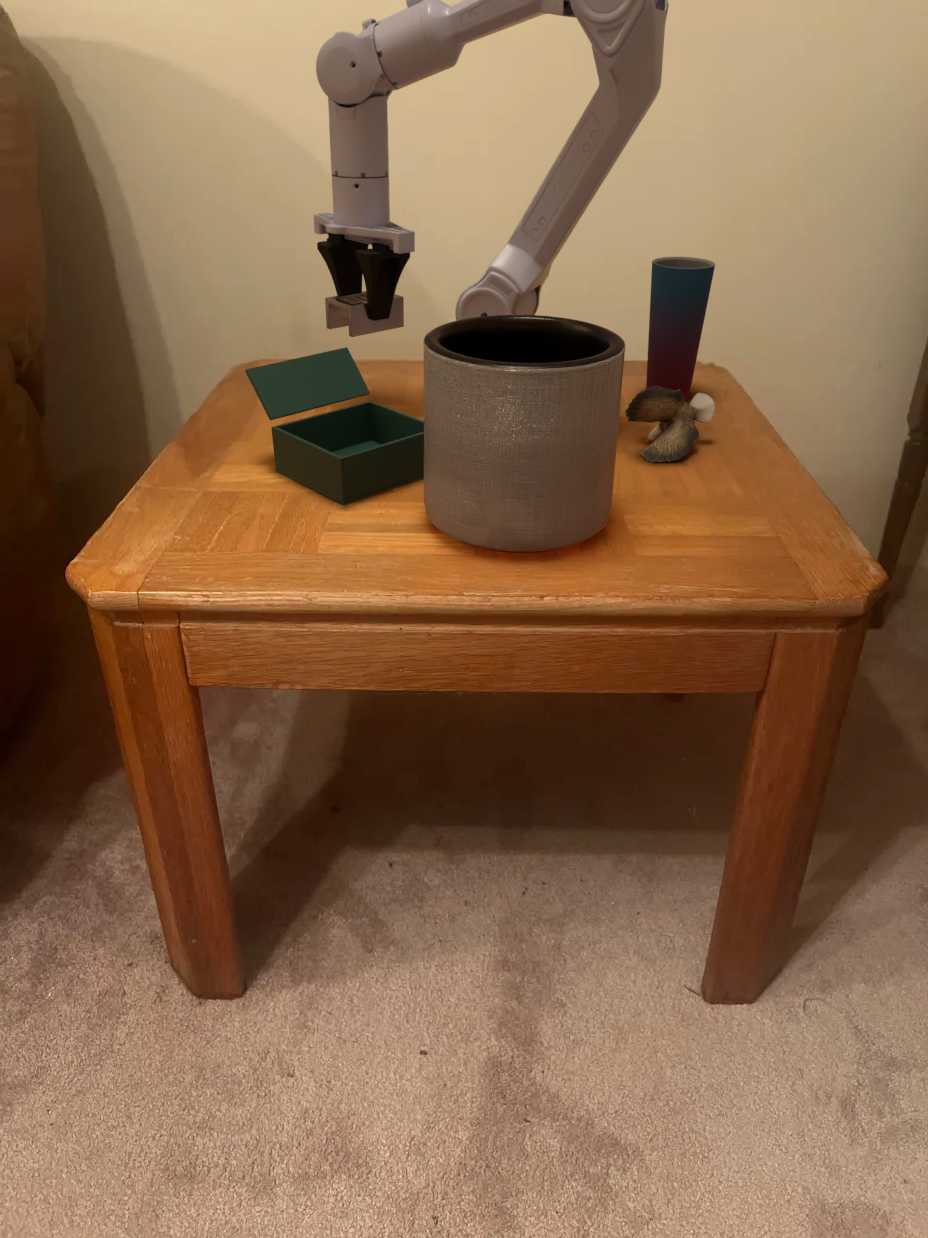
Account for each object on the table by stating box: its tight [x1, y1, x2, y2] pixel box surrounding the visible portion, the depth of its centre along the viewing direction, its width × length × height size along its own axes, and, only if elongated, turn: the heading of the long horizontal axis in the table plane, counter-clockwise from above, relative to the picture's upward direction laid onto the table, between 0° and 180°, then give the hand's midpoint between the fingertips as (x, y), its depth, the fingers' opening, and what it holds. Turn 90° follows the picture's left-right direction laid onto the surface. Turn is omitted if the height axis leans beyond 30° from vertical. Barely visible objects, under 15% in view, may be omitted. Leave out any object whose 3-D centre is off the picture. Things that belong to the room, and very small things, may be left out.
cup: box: [645, 256, 716, 401], centre depth 108 cm, size 7×7×15 cm
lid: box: [244, 346, 371, 421], centre depth 92 cm, size 5×12×1 cm
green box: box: [271, 400, 424, 506], centre depth 90 cm, size 11×12×4 cm
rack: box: [324, 290, 405, 338], centre depth 101 cm, size 7×5×3 cm, turn 132°
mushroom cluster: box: [624, 386, 716, 463], centre depth 96 cm, size 8×7×9 cm
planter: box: [422, 314, 626, 555], centre depth 78 cm, size 16×16×16 cm
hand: (364, 314), depth 101 cm, fingers closed on rack, 4 cm apart
